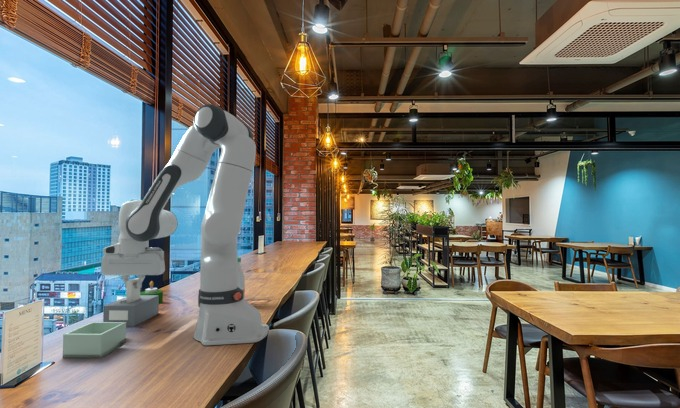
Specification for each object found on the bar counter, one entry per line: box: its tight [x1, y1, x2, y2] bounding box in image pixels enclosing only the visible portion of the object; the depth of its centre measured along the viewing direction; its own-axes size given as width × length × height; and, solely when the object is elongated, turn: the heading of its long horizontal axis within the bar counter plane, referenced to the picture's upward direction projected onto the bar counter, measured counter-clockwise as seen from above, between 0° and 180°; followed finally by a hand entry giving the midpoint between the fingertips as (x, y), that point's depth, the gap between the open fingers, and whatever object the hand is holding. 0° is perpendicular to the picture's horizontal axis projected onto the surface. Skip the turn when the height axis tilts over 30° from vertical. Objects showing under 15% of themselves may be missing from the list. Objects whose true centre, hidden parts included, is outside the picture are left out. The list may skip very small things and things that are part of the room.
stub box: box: [62, 321, 127, 359], centre depth 92 cm, size 10×10×6 cm
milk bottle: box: [237, 256, 246, 300], centre depth 135 cm, size 8×8×20 cm
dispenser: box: [102, 295, 160, 328], centre depth 114 cm, size 10×14×9 cm
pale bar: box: [125, 278, 141, 303], centre depth 114 cm, size 2×5×11 cm, turn 179°
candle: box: [140, 280, 164, 305], centre depth 138 cm, size 8×8×10 cm
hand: (133, 288), depth 115 cm, fingers closed on pale bar, 2 cm apart
